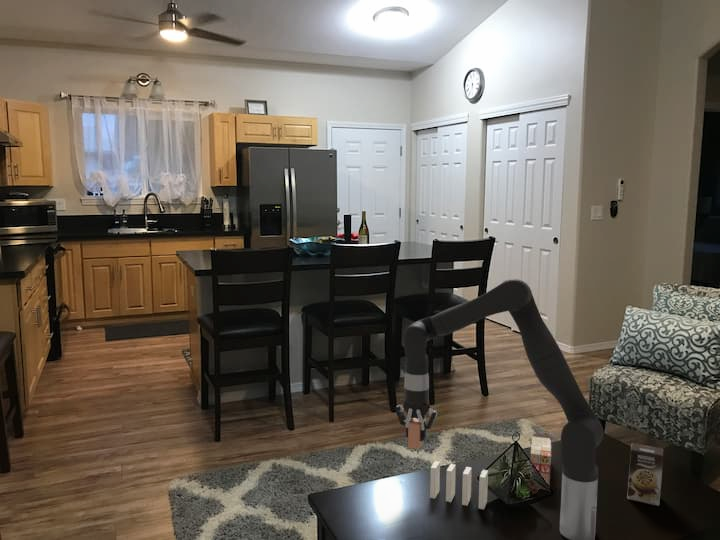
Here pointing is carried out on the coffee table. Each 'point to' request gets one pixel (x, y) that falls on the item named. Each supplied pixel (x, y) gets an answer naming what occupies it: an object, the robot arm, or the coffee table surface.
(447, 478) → the domino
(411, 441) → the domino
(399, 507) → the coffee table surface
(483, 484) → the domino
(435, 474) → the domino
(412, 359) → the robot arm
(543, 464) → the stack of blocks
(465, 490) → the domino
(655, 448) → the brown cookie box
